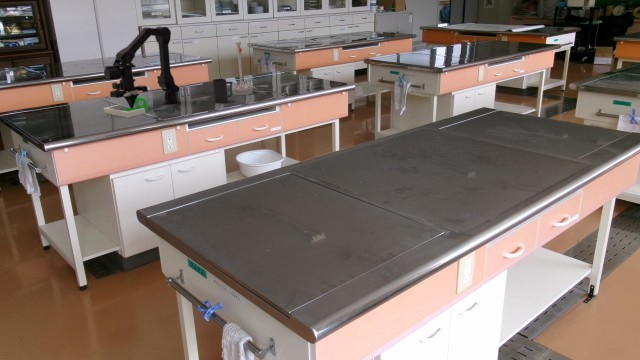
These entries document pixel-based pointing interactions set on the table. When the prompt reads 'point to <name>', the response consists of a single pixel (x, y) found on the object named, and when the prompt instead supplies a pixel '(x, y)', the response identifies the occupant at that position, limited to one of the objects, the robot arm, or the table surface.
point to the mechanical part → (138, 105)
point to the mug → (221, 90)
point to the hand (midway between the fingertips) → (131, 108)
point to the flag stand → (241, 88)
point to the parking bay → (117, 111)
